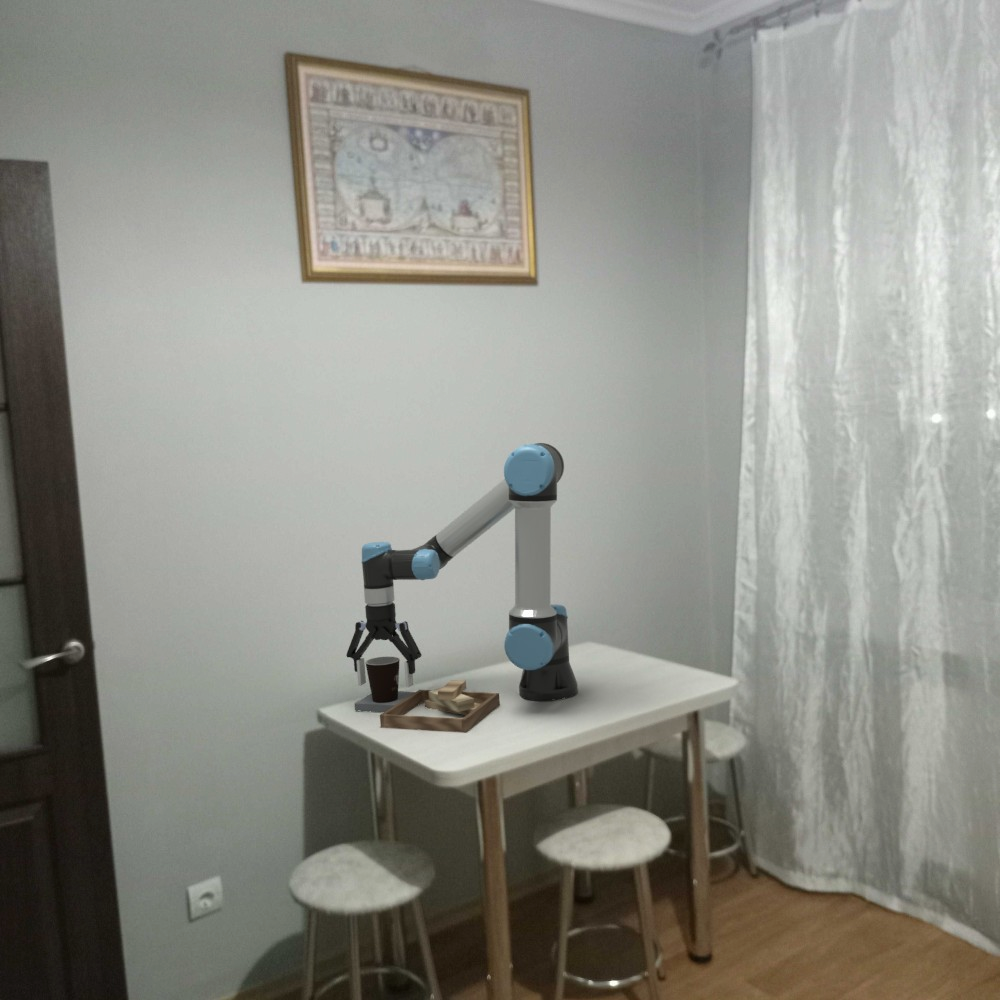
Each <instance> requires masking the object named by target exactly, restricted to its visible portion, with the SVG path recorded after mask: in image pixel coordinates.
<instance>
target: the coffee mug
mask: <svg viewBox="0 0 1000 1000" xmlns="http://www.w3.org/2000/svg"><path fill="white" fill-rule="evenodd" d="M400 661H401V660H400V657H395V656H378V657H373V658H370V659H368V660H365V661H364V662H365V667H366V668H365V669H366V673H367V677H368V679H367V680H368V683H369V689H370V694H372V700H373V702H376V703H388V702H392V701H395V700H397V699H398V691H399V681H400V680H399V679H400V677H399V676H400Z"/></svg>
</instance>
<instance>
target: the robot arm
mask: <svg viewBox="0 0 1000 1000" xmlns="http://www.w3.org/2000/svg"><path fill="white" fill-rule="evenodd" d="M564 470H565V462H564V459H563V456H562V454H561V453H560V451H559V450H558V449H557V448H556V447H554V446H553V445H551V444H549V443H544V442H538V443H537V442H536V443H529V444H524V445H520V446H519V447H517V448H516V449H515V450H513V451H512V452H511V453H510V454H509V455H508V457H507V458H506V460H505V462H504V466H503V476H504V479H503V480H501V481H500V482H499V483H498V484H497V485H495V486H494V487H493V488H492V489H491V490H489V491H488V492H487V493H485V495H483V496H482V497H481V498H479V499H478V500H477V501H475V502H474V503H473V504H472V505H471V506H470V507H468V508H467V509H466V510H464V512H462V513H461V514H459V515H458V516H457V517H456V518H454V519H453V521H451V522H450V523H449V524H448V525H446V526H445V527H444V528H443V529H441V530H440V531H438V533H436V534H435V535H434V536H433V537H431V538H430V539H429V540H428V541H426V542H425V543H424V544H422V545H419V546H418V547H416V548H412V549H402V550H400V549H398V550H397V549H393V548H392V546H391V545H392V544H391V543H390V542H388V541H376V542H373V541H372V542H367V543H364V545H362V547H361V566H362V576H363V578H362V580H363V589H364V590H363V595H364V596H363V597H364V603H365V604H366V605H365V607H364V608H365V618H366V622H365V621H364V620H360V621H359V620H358V621H357V622H356V623H354V624H355V625H354V627H355V629H354V630H355V631H354V633H353V636H352V638H351V641H350V644H349V646H348V649H347V652H346V654H345V655H346V656H345V657H347V658H351V659H352V660H353V666H354V668H353V669H354V672H355V673H357V685H358V687H360V686H363V685H365V684H366V683H367V681H366V678H367V677H366V668H365V667H366V663H365V662H366V661H365V658H364V657H363V655H364V653H365V652H366V651H367V649H368V648H369V646H370V644H371V643H372V642H373V641H375V640H376V641H378V640H382V641H387V640H388V641H389V642H390V643H392V644H393V645H394V647H396V649H397V650H398V651H399V653H400V654H401V655H402V656H403V658H404V659H405V661H404V662H403V663H404V677H405V688H406V689H407V688H411V687H413V686H414V675H413V674H415V672H416V663H415V662H416V660H418V659H419V658H421V657H422V653H421V651H420V648H419V647H418V645H417V643H416V641H415V639H414V637H413V635H412V633H411V632H410V630H409V623H408V621H402V622H397V621H396V620H397V619H396V615H397V613H396V603H395V602H394V601H395V589H394V581H397V580H399V581H400V580H401V581H404V580H405V581H406V580H407V581H408V580H409V581H413V580H415V581H417V580H420V581H425V580H433V579H435V578H437V577H438V574H439V572H440V570H441V569H443V568H444V567H445V566H446V565H447V564H448V563H449V562H450V561H451V560H452V559H453V558H454V557H456V556H457V555H458V554H459V553H461V552H462V551H464V549H466V548H467V547H468V546H469V545H471V544H472V543H474V541H476V540H477V539H478V538H480V537H481V536H483V534H485V533H486V532H487V531H489V530H490V529H491V528H492V527H494V526H495V525H496V524H497V523H498V522H500V521H501V520H502V519H504V518H505V517H506V516H507V515H508V514H510V513H511V512H513V510H514V534H515V535H514V563H515V564H514V570H515V571H514V589H515V590H514V594H515V596H514V606H513V607H511V609H510V610H509V612H508V632H507V633H506V637H505V639H504V643H503V645H504V647H503V648H504V651H505V655H506V657H507V658H508V660H509V662H511V663H512V664H513V665H514V666H516V667H517V668H519V669H521V670H522V673H521V676H520V681H519V684H518V691H519V696H520V697H522V698H523V699H526V700H531V701H538V702H539V701H541V702H542V701H543V702H545V701H547V702H548V701H557V700H558V701H559V700H563V699H567V698H572V697H573V696H575V695H576V694H578V691H579V688H578V686H579V685H578V682H577V677H576V676H575V674H574V671H573V667H572V666H571V663H570V649H569V647H570V646H569V628H568V618H569V616H568V614H567V613H568V612H567V608H566V607H565V606H564V605H562V604H551V532H552V531H551V520H552V519H551V508H552V507H553V505H555V503H557V501H558V483H559V482H560V481H561V479H562V477H563V476H564V475H563V474H564V472H565V471H564ZM364 630H367V631H368V633H367V635H365V638H364V640H363V641H362V643H361V644H360V642H361V639H362V636H363V634H364ZM396 630H398V631H399V633H400V635H401V637H400V635H399V634H398V632H397V631H396ZM402 639H403V640H404V641H403V640H402ZM359 645H360V646H359Z"/></svg>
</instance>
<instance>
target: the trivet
mask: <svg viewBox="0 0 1000 1000" xmlns="http://www.w3.org/2000/svg"><path fill="white" fill-rule="evenodd" d="M415 692H416V691H400V690H398V699H397V700H395V701H392V702H388V703H376V702H373V700H372V694H371V693H370V694H367V695H366V696H365V697H363V698H361V699H359V700H358V701H356V702H355V703H353V704H354V711H355V710H361V711H360V712H363V711H371V712H370V713H381V712H385V711H387V710H388V709H390V708H391V707H393V706H395V705H396V704H398V703H399V702H401V701H402V700H404V699H406V698H407V697H409V696H410V695H412V694H413V693H415Z"/></svg>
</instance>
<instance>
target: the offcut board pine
mask: <svg viewBox="0 0 1000 1000" xmlns="http://www.w3.org/2000/svg"><path fill="white" fill-rule="evenodd" d="M441 688H442V687H441ZM441 688H436V689H431V690H432V691H428V692H429V701H432V702H434V703H437V704H439V705H442V706H444V707H447V708H449V709H452V710H454V711H457V712H461V711H465V710H468V709H472V708H475V707H474V698H472V697H469V696H466V695H463V694H460V695H458V696H457V697H456V698H455V699H454V700H438V691H439V690H440V689H441Z"/></svg>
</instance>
